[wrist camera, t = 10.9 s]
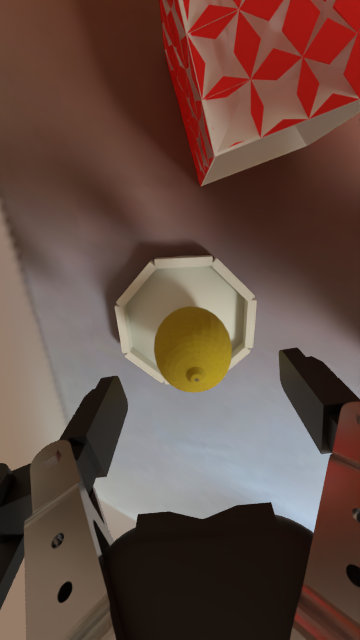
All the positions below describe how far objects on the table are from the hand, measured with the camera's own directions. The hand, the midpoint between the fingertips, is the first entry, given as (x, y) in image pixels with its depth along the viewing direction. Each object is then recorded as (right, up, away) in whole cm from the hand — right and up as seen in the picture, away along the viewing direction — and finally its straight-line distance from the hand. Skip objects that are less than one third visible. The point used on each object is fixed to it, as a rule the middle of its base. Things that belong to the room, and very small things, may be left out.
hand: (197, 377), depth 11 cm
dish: (0, +3, +10) cm, 10 cm away
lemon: (0, +3, +9) cm, 9 cm away
